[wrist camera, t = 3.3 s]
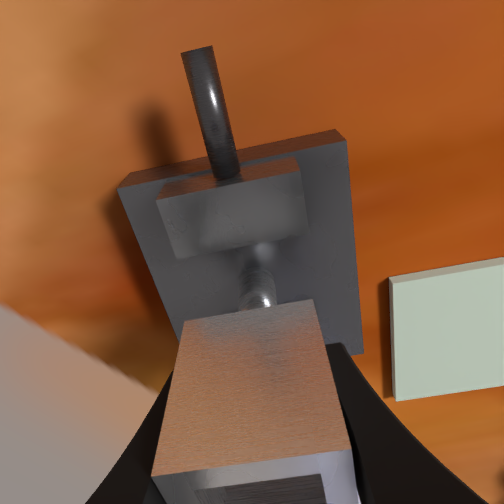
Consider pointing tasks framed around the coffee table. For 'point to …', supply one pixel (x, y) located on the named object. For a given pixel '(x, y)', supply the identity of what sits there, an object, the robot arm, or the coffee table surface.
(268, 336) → the hollow square tube
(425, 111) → the coffee table surface
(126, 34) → the coffee table surface
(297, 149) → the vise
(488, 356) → the set down mat
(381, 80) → the coffee table surface
